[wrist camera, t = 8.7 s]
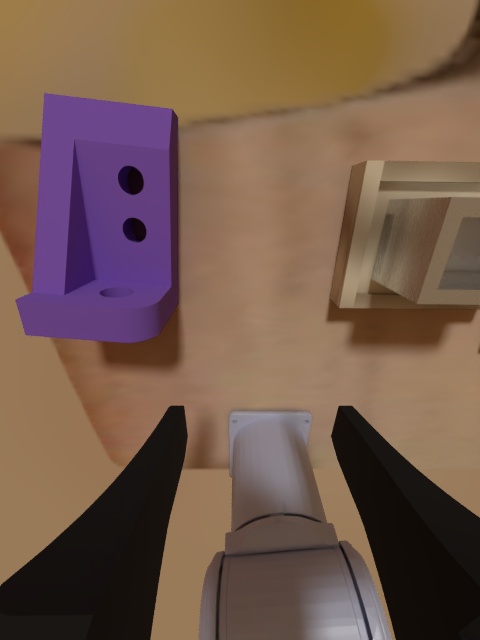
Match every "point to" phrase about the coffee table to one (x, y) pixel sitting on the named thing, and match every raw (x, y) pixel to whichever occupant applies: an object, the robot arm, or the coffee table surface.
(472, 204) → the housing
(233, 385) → the coffee table surface
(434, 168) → the beige shallow tray
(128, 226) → the bracket
